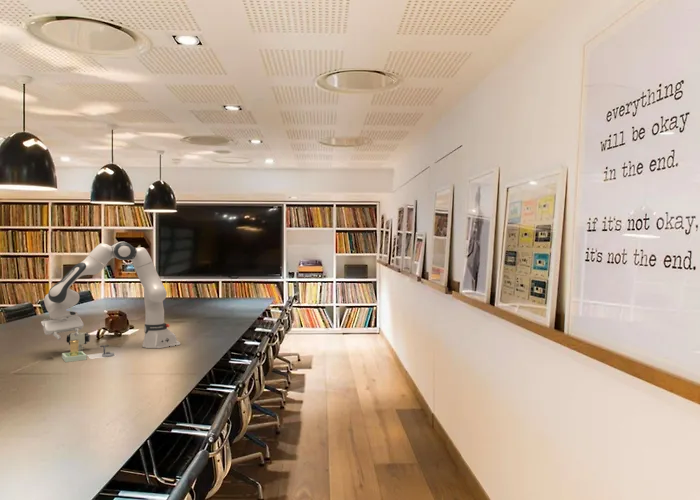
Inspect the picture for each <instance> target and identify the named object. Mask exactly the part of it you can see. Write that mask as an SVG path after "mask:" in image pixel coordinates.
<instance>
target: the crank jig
mask: <svg viewBox="0 0 700 500" xmlns="http://www.w3.org/2000/svg"><path fill="white" fill-rule="evenodd" d="M109 346H110V345H109V344H104V345H103V344H102V345H100V347H99V348H102V349H103V351H102V352H100V353H99V352H98V353H92V354H86V355H87V357H88V358H89V359H90V360H94V359H105V358H113V357H117V355H116V354H115V353H114V352H112V351H106V347H109Z"/></svg>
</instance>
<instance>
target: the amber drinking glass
mask: <svg viewBox="0 0 700 500" xmlns="http://www.w3.org/2000/svg"><path fill="white" fill-rule="evenodd" d="M78 350H79V340H70V345H69V352H70V357H71V356H78ZM79 351H80V350H79Z"/></svg>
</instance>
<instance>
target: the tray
mask: <svg viewBox="0 0 700 500" xmlns="http://www.w3.org/2000/svg"><path fill="white" fill-rule="evenodd" d="M87 355H88V354H86V353H85V352H84V351H83V350H79V351H78V356H71V357H70V351H69V352H62V353H61V358H62V360H63V361H64V362H65V363H70V362H72V363H73V362H79V361H87V357H88V356H87Z"/></svg>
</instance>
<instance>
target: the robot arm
mask: <svg viewBox="0 0 700 500" xmlns="http://www.w3.org/2000/svg"><path fill="white" fill-rule="evenodd" d="M112 259H117V260H120V261H127V260H130V261H131V263H132V265H133V268H134V269H135V272H136V275H137V278H138V279H139V282H140V283H141V285H142V287H143V297H144V298H143V300H144V312H145V315H144V316H145V319H144V320H145V323H144V327H143V330H144V331H143V332H144V337H143V343H142V345H141V346H142V347H143V348H147V349H164V348H170V347H175V345H176V346H180V345H181V342H180V341H178V340H177V336H176V334H175V333H174V332H173V331H171V330H170V329H168V328H170V327H171V326H170V324H169V323H165V309H164V308H165V307H164V300H166V298H167V290H166V287H165V286H164V284H163V281H162V280H161V278H160V275H159V274H158V272H157V269H156V266H155V265H154V262H153V259H152V257H151V256H150V253H149V252H148V250H147V249H146V248H145V247H141V246H138V247H134V246H133V245H131V244H130V242H129V243H128V242H126V241H118V242H115V243H114V244H113V243H112V244H111V245H109V244H107V243H102V242H101V243H98V245H96V246H95V247H94V248H93V249H92V250H91V251H90V253H88V255H87V256H86V257H85V259H84V260H82V261H81V262H79V263H76V264H75V265H74V266H73V267H72V268H71V269H70V270H69V271H68V272H67V273H66V274H65V275H64V276H63V277H62V278H61V279H60V280H59V281H58V282H57V283H55V284H54V285H53V286H51V288H50V289H49V290H48V293H47V294H45V296H44V299H43V302H44V307H45V310H46V311H47V313H48V316H49V318H48V319H43V320H41V321H40V324H41V326H42V329H43V332H44V333H43V334H44V335H46V336H50V335H52V336H53V337H55V338H56V340H61V339H62V337H61V335H60V334H61V333H67V332H73V331H74V333H75V334H74V335H75V336H78V335H79V334H78V331H80V330H82V329H83V328H84V326H85V325H84V322H83V320H82V318H81V317H80V316H79V314H78V311H72V310H68V309H71V308H72V307H75V306H76V305H77V304H78V303H79V302H80V299H81V297H80V294H79V292H78V291H76V290H73V289H71V286H72V285H73V284H74V283H75V282H76V281H77V280H79V278H81V277H83V276H87V275H88V276H89V275H91V276H95V275H97V274H100V273H101V272H102V271H103V270H104V268H105V267H106V265H107V264H108V263H109V262H110V261H111V260H112ZM169 346H170V347H169Z"/></svg>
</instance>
